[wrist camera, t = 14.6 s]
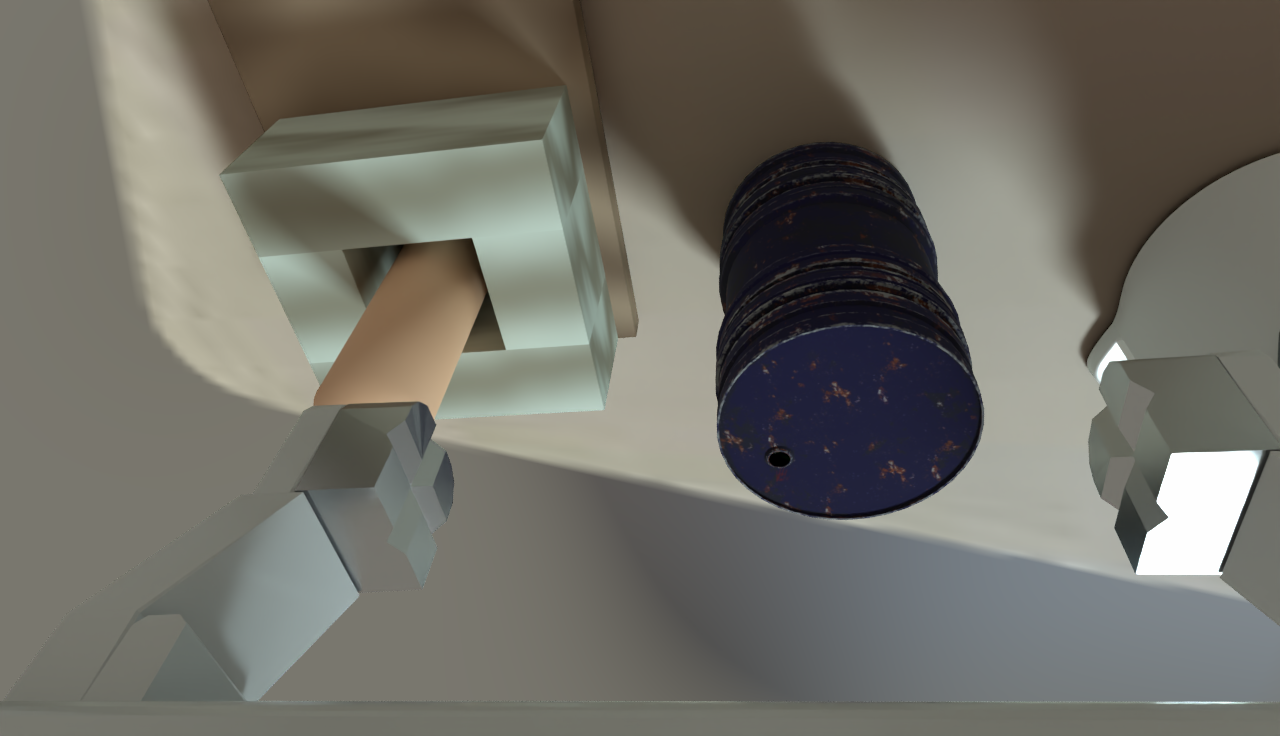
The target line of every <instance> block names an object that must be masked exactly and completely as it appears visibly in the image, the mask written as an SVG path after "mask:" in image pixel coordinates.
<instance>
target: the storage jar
mask: <svg viewBox="0 0 1280 736" xmlns="http://www.w3.org/2000/svg"><path fill="white" fill-rule="evenodd" d="M719 293H720V298H721V303H722V307H723V312H724V314H725V317H724V319H723V322H722V325H721V328H720V331H719V335H718V340H717V346H716V359H717V362H716V396H717V400H718V409H717V438H718V443H719V447H720V451H721V454H722V456H723V458H724V460H725V462H726V464H727V466H728V468H729V469H730V470H731V472H732V473H733V474H734V476H735V477H736V478H737V479H738V480H739V481H740V482H741V483H742V484H743V485H744V486H745V487H746V488H747V489H748V490H749V491H751V492H752V493H754V494H755V495H756V496H758V497H759V498H761V499H762V500H764V501H766V502H768V503H770V504H772V505H774V506H776V507H778V508H781V509H784V510H787V511H789V512H792V513H796V514H800V515H804V516H808V517H814V518H822V519H836V520H851V519H862V518H870V517H875V516H881V515H886V514H889V513H893V512H896V511H899V510H902V509H905V508H908V507H910V506H912V505H914V504H917V503H919V502H921V501H923V500H925V499H927V498H928V497H930V496H932V495H933V494H935V493H937V492H938V491H940V490H941V489H942V488H944V487H945V486H946V485H947V484H949V483H950V482H951V481H952V480H953V479H954V478H955V477H956V476H957V475H958V474H959V473H960V472H961V471H962V470H963V469H964V468H965V466H966V465H967V463H968V462H969V461H970V459H971V458H972V456H973V455H974V453H975V450H976V448H977V446H978V444H979V442H980V439H981V434H982V430H983V426H984V407H983V402H982V398H981V393H980V390H979V387H978V384H977V381H976V379H975V377H974V374H973V371H972V362H971V357H970V353H969V348H968V345H967V342H966V339H965V336H964V333H963V331H962V329H961V326H960V322H959V317H958V314H957V312H956V309H955V307H954V305H953V303H952V301H951V299H950V298H949V296H948V295H947V294H946V292H945V291H944V290H943V288H942V287H941V286H940V284H939V283H938V270H937V256H936V251H935V247H934V243H933V241H932V238H931V236H930V234H929V232H928V229H927V226H926V223H925V221H924V218H923V216H922V214H921V212H920V210H919V208H918V207H917V205H916V202H915V199H914V197H913V194H912V192H911V190H910V188H909V185H908V184H907V182H906V181H905V179H904V178H903V177H902V175H901V174H900V173H899V172H898V171H897V170H896V169H895V168H894V167H893V166H892V165H891V164H890V163H889V162H887V161H886V160H885V159H883V158H882V157H880V156H879V155H877V154H875V153H873V152H871V151H868V150H866V149H864V148H861V147H857V146H853V145H850V144H843V143H835V142H823V143H812V144H806V145H800V146H797V147H794V148H791V149H788V150H785V151H783V152H781V153H779V154H777V155H775V156H773V157H771V158H769V159H768V160H766V161H765V162H763V163H762V164H760V165H759V166H758V167H756V168H755V169H754V170H753V171H752V172H751V173H750V174H749V175H748V176H747V177H746V178H745V179H744V181H743V182H742V183H741V184H740V186H739V187H738V188H737V190H736V192H735V193H734V195H733V197H732V199H731V201H730V203H729V206H728V209H727V212H726V215H725V221H724V227H723V240H722V246H721V252H720V277H719Z"/></svg>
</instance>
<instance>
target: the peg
mask: <svg viewBox="0 0 1280 736" xmlns="http://www.w3.org/2000/svg"><path fill="white" fill-rule="evenodd" d="M487 290H488V289H487V285H486V282H485V279H484V276H483V272H482V269H481V266H480V262H479V259H478V256H477V252H476V249H475V246H474V243H473V239H472V238H465V239H454V240H443V241H432V242H421V243H410V244H404V246H403V248H402V249H401V251H400V253H399V254H398V256H397V258H396V259H395V261H394V263H393V264H392V266H391V268H390V269H389V271H388V273H387V275H386V276H385V278H384V280H383V281H382V283H381V285H380V286H379V288H378V290H377V291H376V293H375V295H374V296H373V298H372V300H371V301H370V303H369V305H368V306H367V308H366V310H365V311H364V313H363V315H362V316H361V318H360V320H359V322H358V323H357V325H356V327H355V328H354V330H353V332H352V333H351V335H350V337H349V338H348V340H347V342H346V343H345V345H344V347H343V348H342V350H341V352H340V353H339V355H338V357H337V358H336V360H335V362H334V363H333V365H332V367H331V369H330V370H329V372H328V374H327V375H326V377H325V379H324V380H323V382H322V384H321V385H320V387H319V389H318V390H317V392H316V395H315V398H314V406H320V405H348V404H358V403H386V402H414V401H419V402H421V403H423V404H425V405H427V406H428V408H429V410H430V412H431V414H432V417H433V419H435V416H436V414H437V412H438V409H439V407H440V404H441V402H442V399H443V397H444V395H445V392H446V390H447V387H448V385H449V382H450V380H451V378H452V375H453V373H454V370H455V368H456V365H457V363H458V361H459V358H460V356H461V353H462V351H463V348H464V346H465V344H466V341H467V339H468V336H469V334H470V331H471V329H472V327H473V324H474V322H475V319H476V317H477V315H478V312H479V310H480V307H481V305H482V302H483V300H484V298H485V295H486V293H487Z"/></svg>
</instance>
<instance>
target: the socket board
mask: <svg viewBox="0 0 1280 736" xmlns="http://www.w3.org/2000/svg"><path fill="white" fill-rule="evenodd" d="M208 2H209V4H210V7H211V9H212V11H213V14H214V16H215V18H216V21H217V23H218V25H219V28H220V30H221V32H222V35H223V37H224V39H225V42H226V44H227V46H228V48H229V51H230V53H231V55H232V58H233V60H234V62H235V65H236V67H237V69H238V72H239V74H240V76H241V79H242V81H243V83H244V86H245V88H246V90H247V93H248V95H249V97H250V99H251V102H252V104H253V106H254V109H255V111H256V113H257V116H258V118H259V120H260V123H261V125H262V127H263V130H264V132H265V133H264V134H263V135H262V136H261V137H259V138H258V139H257V140H256V141H255V142H254V143H253V144H252V145H251V146H250V147H249V148H248V149H247V150H245V151H244V152H243V153H242V154H241V155H240V156H239V157H238V158H237V159H236V160H235V161H234V162H232V163H231V164H230V165H229V166H228V167H227V168H226V169H225V170H224V171H223V172H222V173H221V174H220V178H221V180H222V182H223V184H224V186H225V188H226V190H227V192H228V194H229V196H230V198H231V201H232V203H233V205H234V207H235V209H236V211H237V213H238V215H239V217H240V219H241V221H242V223H243V226H244V228H245V230H246V232H247V234H248V236H249V238H250V240H251V242H252V244H253V246H254V248H255V251H256V253H257V255H258V257H259V259H260V261H261V263H262V265H263V267H264V269H265V271H266V274H267V276H268V278H269V280H270V282H271V284H272V286H273V288H274V290H275V292H276V294H277V296H278V299H279V301H280V303H281V305H282V307H283V309H284V311H285V313H286V315H287V317H288V319H289V322H290V324H291V326H292V328H293V330H294V332H295V334H296V336H297V338H298V340H299V342H300V344H301V347H302V349H303V351H304V353H305V355H306V357H307V359H308V361H309V363H310V365H311V367H312V369H313V372H314V374H315V376H316V378H317V380H318V382H319V384H320V385H321V384H322V382H323V380H324V379H325V377H326V375H327V374H328V372H329V370H330V369H331V367H332V365H333V363H334V362H335V360H336V358H337V357H338V355H339V353H340V352H341V350H342V348H343V347H344V345H345V343H346V342H347V340H348V338H349V337H350V335H351V333H352V332H353V330H354V328H355V327H356V325H357V323H358V322H359V320H360V318H361V316H362V315H363V313H364V311H365V310H366V308H367V306H368V305H369V303H370V301H371V300H372V298H373V296H374V295H375V293H376V291H377V290H378V288H379V286H380V285H381V283H382V281H383V280H384V278H385V276H386V275H387V273H388V271H389V269H390V268H391V266H392V264H393V263H394V261H395V259H396V258H397V256H398V254H399V253H400V251H401V249H402V248H403V246H404V244H410V243H421V242H432V241H443V240H454V239H465V238H472V239H473V243H474V246H475V249H476V252H477V256H478V259H479V262H480V266H481V269H482V272H483V276H484V279H485V282H486V285H487V289H488V290H487V293H486V295H485V298H484V300H483V302H482V305H481V307H480V310H479V312H478V315H477V317H476V319H475V322H474V324H473V327H472V329H471V331H470V334H469V336H468V339H467V341H466V344H465V346H464V348H463V351H462V353H461V356H460V358H459V361H458V363H457V365H456V368H455V370H454V373H453V375H452V378H451V380H450V382H449V385H448V387H447V390H446V392H445V395H444V397H443V399H442V402H441V404H440V407H439V409H438V412H437V414H436V416H435V419H451V418H469V417H487V416H505V415H523V414H541V413H559V412H577V411H595V410H604V409H605V404H606V398H607V393H608V388H609V383H610V377H611V372H612V367H613V362H614V356H615V351H616V346H617V341H618V338H625V337H636V334H637V328H638V322H639V320H638V314H637V309H636V304H635V298H634V293H633V287H632V282H631V276H630V271H629V265H628V260H627V255H626V249H625V244H624V238H623V233H622V227H621V222H620V216H619V211H618V205H617V200H616V195H615V189H614V184H613V178H612V173H611V167H610V162H609V156H608V151H607V145H606V140H605V135H604V129H603V124H602V118H601V113H600V107H599V102H598V96H597V91H596V86H595V80H594V75H593V69H592V64H591V58H590V53H589V47H588V42H587V36H586V31H585V26H584V20H583V15H582V9H581V4H580V0H208Z"/></svg>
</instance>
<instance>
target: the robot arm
mask: <svg viewBox="0 0 1280 736" xmlns="http://www.w3.org/2000/svg"><path fill="white" fill-rule="evenodd" d="M1087 367H1088V369H1089V371H1090V373H1091V374H1092V375H1093V377H1094V378H1095V379H1096V381H1097V382H1098V383H1099V384H1100V387H1099V390H1100V392H1101V394H1102V396H1103V398H1104V400H1105V402H1106V404H1107V407H1105V408H1104V409H1103V410H1102V411H1101V412H1100V413H1099V414H1097V415H1096V416H1095V417H1094V418H1093V419H1092V424H1091V429H1090V435H1089V441H1088V444H1089V464H1090V468H1091V472H1092V476H1093V480H1094V483H1095V485H1096V488H1097V490H1098V492H1099V495H1100V497H1101V498H1102V499H1103V500H1105V501H1106V502H1108V503H1109V504H1111V505H1112V506H1114V507H1115V508H1117V509H1118V510H1119V511H1118V515H1117V519H1116V523H1115V527H1114V528H1115V530H1116V533H1117V535H1118V537H1119V539H1120V541H1121V544H1122V546H1123V548H1124V550H1125V552H1126V554H1127V557H1128V559H1129V561H1130V563H1131V565H1132V567H1133V570H1134V572H1135V574H1221V576H1220V578H1221V579H1222V580H1223V581H1224V582H1226V583H1227V584H1228V585H1229V586H1231V587H1232V588H1233V589H1234V590H1235V591H1237V592H1238V593H1239V594H1240V595H1242V596H1243V597H1244V598H1245V599H1247V600H1248V601H1249V602H1250V603H1252V604H1253V605H1254V606H1255V607H1257V608H1258V609H1259V610H1260V611H1262V612H1263V613H1264V614H1265V615H1266V616H1268V617H1269V618H1270V619H1272V620H1273V621H1274V622H1275V623H1277V624H1278V625H1279V626H1280V153H1278V154H1275V155H1272V156H1269V157H1266V158H1263V159H1261V160H1258V161H1256V162H1253V163H1251V164H1248V165H1246V166H1244V167H1242V168H1240V169H1237V170H1235V171H1233V172H1231V173H1230V174H1228V175H1226V176H1224V177H1222V178H1220V179H1219V180H1217V181H1215V182H1214V183H1212V184H1210V185H1209V186H1207V187H1206V188H1204V189H1203V190H1201V191H1200V192H1198V193H1197V194H1196V195H1194V196H1193V197H1191V198H1190V199H1189V200H1187V201H1186V202H1185V203H1184V204H1183V205H1181V206H1180V207H1179V208H1178V209H1177V210H1176V211H1174V212H1173V213H1172V214H1171V215H1170V216H1169V217H1168V218H1167V219H1166V220H1165V221H1164V222H1163V223H1162V224H1161V225H1160V226H1159V227H1158V228H1157V230H1156V231H1155V232H1154V233H1153V234H1152V235H1151V237H1150V238H1149V239H1148V240H1147V242H1146V243H1145V245H1144V246H1143V247H1142V249H1141V250H1140V252H1139V253H1138V255H1137V257H1136V259H1135V260H1134V262H1133V264H1132V266H1131V268H1130V270H1129V272H1128V275H1127V277H1126V280H1125V283H1124V286H1123V290H1122V294H1121V298H1120V303H1119V307H1118V311H1117V314H1116V316H1115V319H1114V321H1113V323H1112V324H1111V326H1110V327H1109V328H1108V329H1107V331H1106V332H1105V333H1104V334H1103V336H1102V337H1101V338H1100V340H1099V341H1098V342H1097V344H1096V345H1095V347H1094V348H1093V350H1092V351H1091V353H1090V355H1089V357H1088V360H1087ZM435 426H436V424H435V421H434V419H433V417H432V414H431V412H430V410H429V408H428V406H427V405H425V404H423V403H421V402H419V401H414V402H386V403H358V404H348V405H320V406H312V407H310V408H308V409H307V410H305V411H303V413H302V414H301V416H300V418H299V419H298V421H297V422H296V424H295V426H294V427H293V429H292V431H291V432H290V434H289V436H288V438H287V439H286V440H285V442H284V444H283V445H282V447H281V449H280V450H279V452H278V453H277V455H276V457H275V458H274V460H273V462H272V463H271V465H270V466H269V468H268V470H267V471H266V473H265V475H264V476H263V478H262V480H261V481H260V483H259V484H258V486H257V488H256V489H255V491H254V492H253V494H246V495H240V496H239V497H237V498H236V499H234V500H233V501H231V502H230V503H228V504H227V505H226V506H224V507H222V508H221V509H220V510H218V511H217V512H215V513H214V514H212V515H211V516H209V517H208V518H206V519H205V520H203V521H202V522H200V523H199V524H197V525H196V526H195V527H193V528H192V529H190V530H189V531H187V532H186V533H184V534H183V535H181V536H180V537H178V538H177V539H176V540H174V541H173V542H171V543H169V544H168V545H167V546H165V547H164V548H162V549H161V550H159V551H158V552H156V553H155V554H153V555H152V556H150V557H149V558H147V559H146V560H144V561H143V562H141V563H140V564H139V565H137V566H136V567H134V568H133V569H131V570H130V571H128V572H127V573H125V574H124V575H122V576H121V577H119V578H118V579H116V580H115V581H114V582H112V583H111V584H109V585H108V586H106V587H105V588H103V589H102V590H100V591H99V592H97V593H96V594H95V595H93V596H91V597H90V598H88V599H87V600H86V601H84V602H83V603H81V604H80V605H78V606H77V607H75V608H74V609H72V610H71V611H69V612H68V613H67V614H66V615H65V616H64V618H63V619H62V620H61V622H60V623H59V625H58V626H57V627H56V629H55V630H54V631H53V633H52V634H51V636H50V637H49V638H48V639H47V641H46V642H45V644H44V645H43V646H42V648H41V649H40V650H39V652H38V653H37V654H36V656H35V657H34V659H33V660H32V661H31V663H30V664H29V665H28V667H27V668H26V670H25V671H24V672H23V673H22V675H21V676H20V678H19V679H18V680H17V682H16V683H15V684H14V686H13V687H12V688H11V690H10V691H9V693H8V694H7V695H6V697H5V698H4V700H3V701H0V736H1280V702H749V701H748V702H747V701H745V702H743V701H741V702H740V701H737V702H736V701H730V702H727V701H725V702H724V701H716V702H715V701H713V702H711V701H706V702H705V701H700V702H699V701H697V702H696V701H695V702H694V701H691V702H690V701H686V702H685V701H679V702H678V701H653V702H651V701H645V702H644V701H637V702H636V701H258V700H259V699H260V698H261V697H262V696H263V695H264V694H265V693H266V692H267V691H268V690H269V689H270V688H271V687H272V685H274V683H275V682H276V681H277V680H278V679H279V678H280V677H281V676H282V675H283V674H284V673H285V672H286V671H287V670H288V669H289V668H290V667H291V666H292V665H293V664H294V663H295V662H296V661H297V660H298V659H299V658H300V657H301V656H302V655H303V654H304V653H305V652H306V651H307V650H308V648H309V647H310V646H311V645H312V644H313V643H314V642H315V641H316V640H317V639H318V638H319V637H320V636H321V635H322V634H323V633H324V632H325V631H326V630H327V629H328V628H329V627H330V626H331V625H332V624H333V623H334V622H335V621H336V620H337V619H338V618H339V617H340V616H341V614H342V613H343V612H344V611H345V610H346V609H347V608H348V607H349V606H350V605H351V604H352V603H353V602H354V601H355V600H356V599H357V598H358V597H359V594H358V593H359V592H360V593H361V592H380V591H400V590H419V589H423V586H424V583H425V581H426V578H427V575H428V572H429V569H430V566H431V564H432V561H433V558H434V555H435V553H436V550H437V546H436V544H435V541H434V539H433V537H432V533H433V532H434V531H436V529H438V528H439V527H440V526H441V525H443V524H444V523H445V522H446V521H447V519H448V515H449V512H450V509H451V506H452V503H453V488H454V478H453V472H452V466H451V463H450V460H449V457H448V455H447V452H446V450H445V449H443V448H442V447H441V446H439V445H438V444H437V443H435V442H434V441H433V440H431V436H432V434H433V431H434V429H435Z"/></svg>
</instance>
